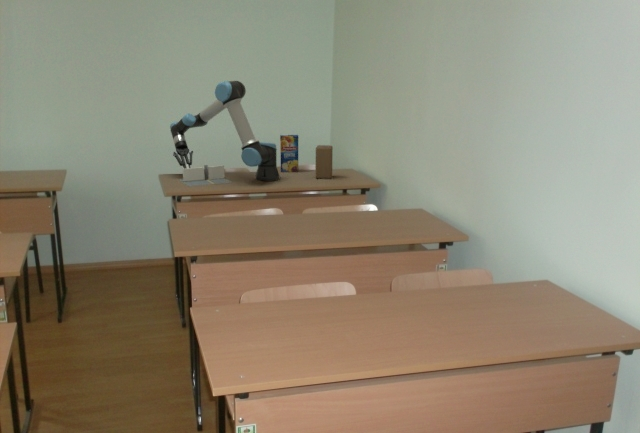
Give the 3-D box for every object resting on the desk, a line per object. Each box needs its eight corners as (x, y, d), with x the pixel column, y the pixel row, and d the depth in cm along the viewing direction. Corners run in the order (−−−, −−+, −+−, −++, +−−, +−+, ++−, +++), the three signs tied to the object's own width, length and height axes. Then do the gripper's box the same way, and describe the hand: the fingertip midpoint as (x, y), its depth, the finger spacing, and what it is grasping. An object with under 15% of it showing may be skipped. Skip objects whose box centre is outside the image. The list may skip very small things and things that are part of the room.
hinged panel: (203, 179, 390) (203, 167, 388) (204, 179, 389) (203, 167, 387) (183, 180, 384) (182, 168, 382) (183, 181, 383) (183, 169, 381)
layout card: (220, 177, 401) (220, 176, 401) (232, 183, 382) (232, 182, 382) (178, 180, 389) (178, 179, 389) (188, 187, 370) (188, 186, 370)
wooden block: (332, 176, 407) (332, 145, 402) (331, 178, 397) (331, 147, 392) (317, 175, 408) (317, 145, 403) (315, 178, 398) (315, 147, 393)
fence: (223, 177, 396) (223, 163, 394) (224, 178, 394) (224, 164, 392) (204, 179, 390) (203, 165, 388) (205, 180, 389) (204, 165, 386)
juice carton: (298, 170, 427) (298, 134, 421) (298, 172, 420) (298, 136, 414) (280, 170, 426) (280, 134, 420) (280, 172, 419) (280, 136, 413)
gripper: (189, 146, 405) (198, 176, 395) (169, 148, 400) (177, 178, 389) (191, 139, 399) (200, 169, 389) (171, 140, 394) (179, 171, 384)
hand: (188, 173), depth 389 cm, fingers closed
